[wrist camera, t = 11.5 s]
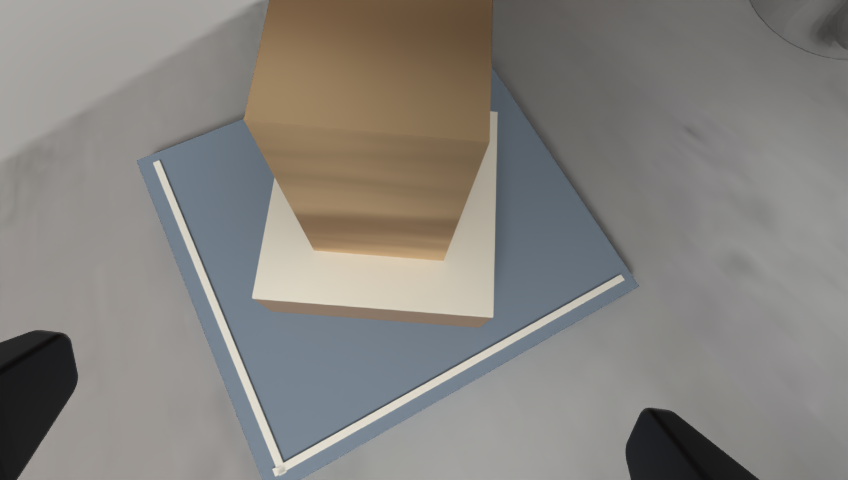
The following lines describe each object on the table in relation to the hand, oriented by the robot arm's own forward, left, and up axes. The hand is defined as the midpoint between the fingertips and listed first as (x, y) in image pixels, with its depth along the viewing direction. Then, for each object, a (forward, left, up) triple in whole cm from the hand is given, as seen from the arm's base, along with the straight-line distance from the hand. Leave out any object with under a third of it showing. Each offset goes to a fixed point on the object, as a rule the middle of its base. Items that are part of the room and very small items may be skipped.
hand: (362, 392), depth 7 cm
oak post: (+4, +7, -10) cm, 12 cm away
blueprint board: (+4, +7, -14) cm, 16 cm away
